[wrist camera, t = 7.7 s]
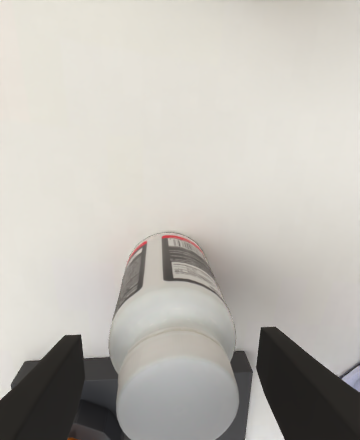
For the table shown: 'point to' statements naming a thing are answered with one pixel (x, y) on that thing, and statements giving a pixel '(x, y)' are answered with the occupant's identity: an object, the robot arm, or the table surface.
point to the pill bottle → (172, 345)
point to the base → (107, 394)
